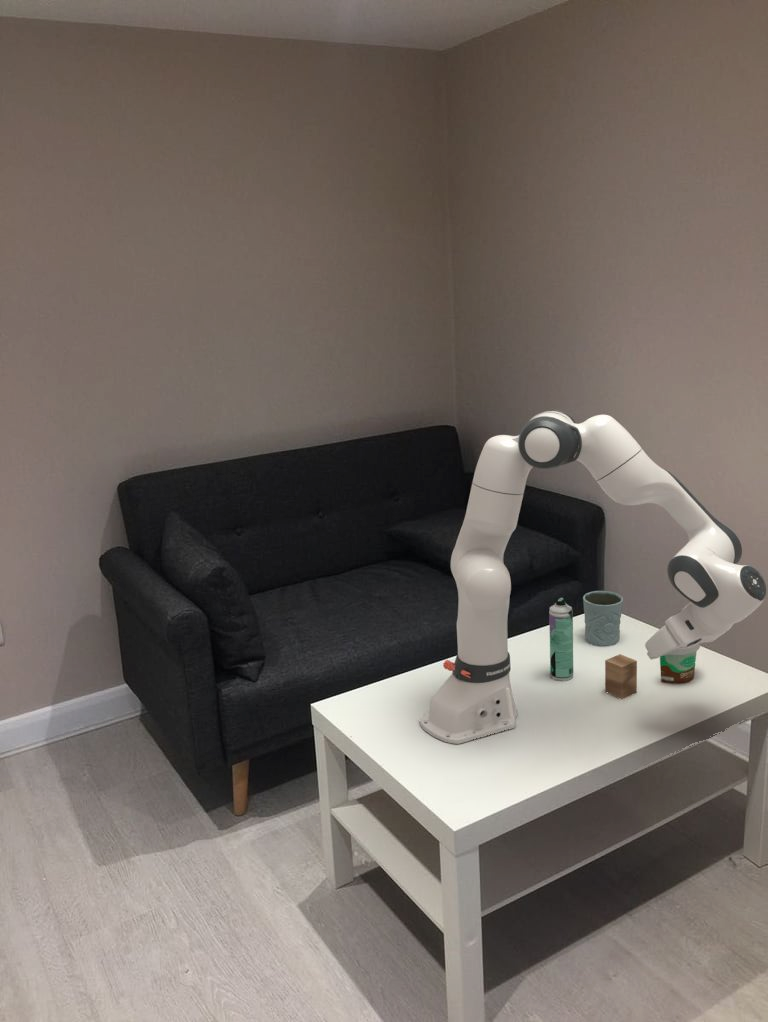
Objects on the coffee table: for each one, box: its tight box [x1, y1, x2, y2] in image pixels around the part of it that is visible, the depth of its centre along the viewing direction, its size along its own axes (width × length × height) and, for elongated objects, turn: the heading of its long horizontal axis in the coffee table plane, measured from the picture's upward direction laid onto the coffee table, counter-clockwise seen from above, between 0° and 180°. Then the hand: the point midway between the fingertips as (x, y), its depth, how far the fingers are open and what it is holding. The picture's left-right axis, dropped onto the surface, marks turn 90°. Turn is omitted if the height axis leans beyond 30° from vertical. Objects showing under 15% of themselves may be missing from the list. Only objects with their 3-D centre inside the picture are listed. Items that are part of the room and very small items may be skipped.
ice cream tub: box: [659, 643, 701, 685], centre depth 215 cm, size 12×6×10 cm, turn 131°
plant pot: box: [582, 590, 624, 647], centre depth 239 cm, size 10×10×12 cm
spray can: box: [548, 597, 574, 682], centre depth 220 cm, size 6×6×20 cm
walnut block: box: [604, 653, 638, 700], centre depth 211 cm, size 5×5×8 cm
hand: (665, 649), depth 199 cm, fingers open, 8 cm apart
